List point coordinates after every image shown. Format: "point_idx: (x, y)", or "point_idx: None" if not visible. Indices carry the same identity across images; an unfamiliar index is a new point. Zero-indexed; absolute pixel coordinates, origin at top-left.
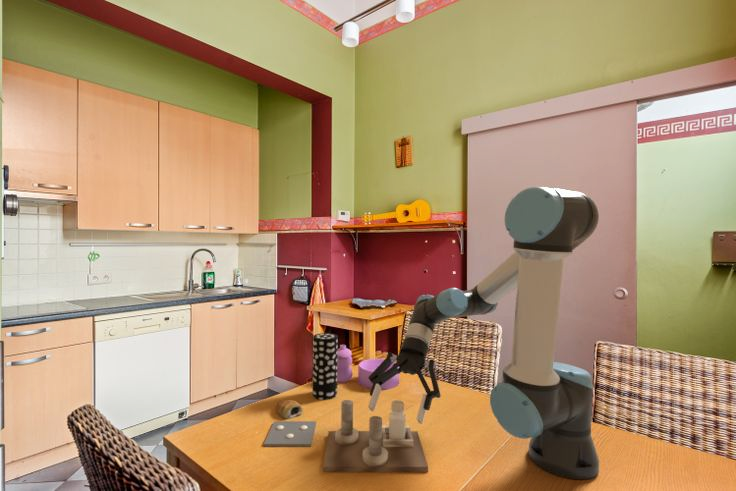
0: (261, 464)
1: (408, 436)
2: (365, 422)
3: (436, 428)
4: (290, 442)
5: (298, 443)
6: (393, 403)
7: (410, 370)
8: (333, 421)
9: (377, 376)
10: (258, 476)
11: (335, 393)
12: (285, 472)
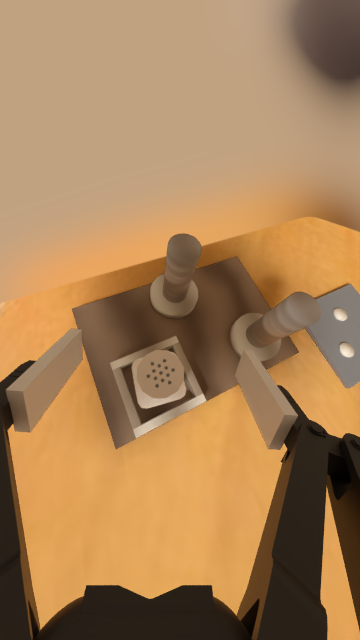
0: (312, 251)
1: (129, 391)
2: (263, 450)
3: (65, 529)
4: (324, 300)
5: None
6: (173, 359)
7: (101, 602)
8: (325, 415)
9: (346, 505)
10: (294, 233)
11: None
12: (274, 247)
